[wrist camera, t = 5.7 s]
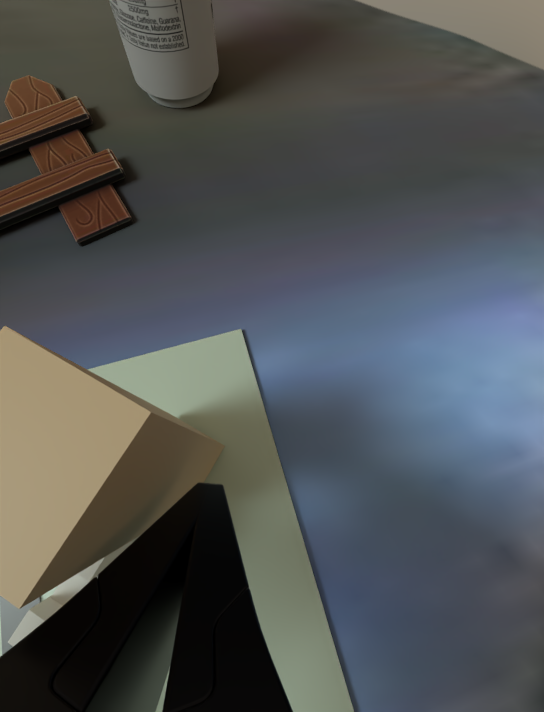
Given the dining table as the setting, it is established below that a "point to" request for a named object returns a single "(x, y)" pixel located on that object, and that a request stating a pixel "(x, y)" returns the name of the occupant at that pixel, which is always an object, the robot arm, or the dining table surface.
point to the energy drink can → (170, 48)
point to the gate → (79, 474)
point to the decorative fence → (59, 164)
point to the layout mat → (241, 508)
